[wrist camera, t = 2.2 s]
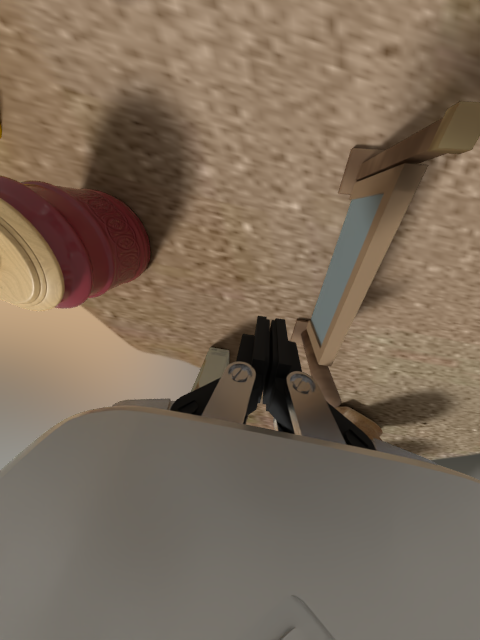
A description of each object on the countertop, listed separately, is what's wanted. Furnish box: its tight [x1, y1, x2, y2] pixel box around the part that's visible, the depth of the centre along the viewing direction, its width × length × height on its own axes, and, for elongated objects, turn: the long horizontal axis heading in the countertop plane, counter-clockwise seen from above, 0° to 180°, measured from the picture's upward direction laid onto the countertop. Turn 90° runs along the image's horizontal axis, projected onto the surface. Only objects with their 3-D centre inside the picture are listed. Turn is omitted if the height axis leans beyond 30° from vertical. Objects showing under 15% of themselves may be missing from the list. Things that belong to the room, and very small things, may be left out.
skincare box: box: [191, 347, 229, 392], centre depth 33 cm, size 6×4×12 cm
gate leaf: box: [306, 163, 428, 366], centre depth 22 cm, size 20×2×9 cm, turn 175°
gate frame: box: [291, 101, 480, 408], centre depth 21 cm, size 27×5×14 cm, turn 175°
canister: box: [0, 176, 150, 311], centre depth 21 cm, size 13×13×18 cm
